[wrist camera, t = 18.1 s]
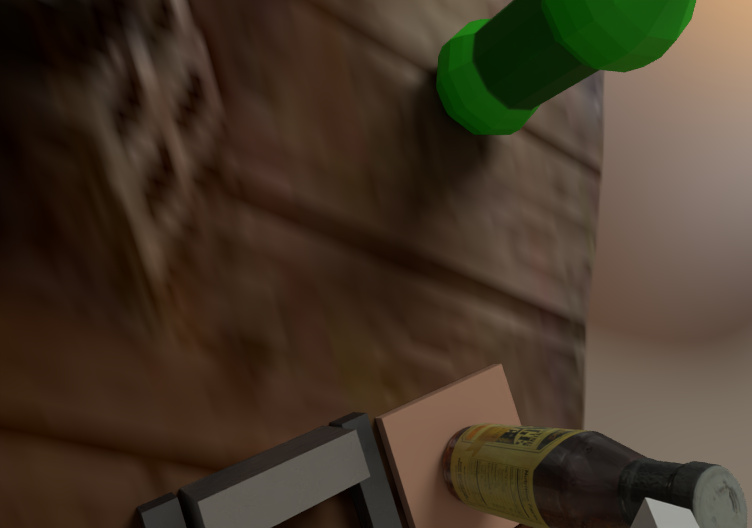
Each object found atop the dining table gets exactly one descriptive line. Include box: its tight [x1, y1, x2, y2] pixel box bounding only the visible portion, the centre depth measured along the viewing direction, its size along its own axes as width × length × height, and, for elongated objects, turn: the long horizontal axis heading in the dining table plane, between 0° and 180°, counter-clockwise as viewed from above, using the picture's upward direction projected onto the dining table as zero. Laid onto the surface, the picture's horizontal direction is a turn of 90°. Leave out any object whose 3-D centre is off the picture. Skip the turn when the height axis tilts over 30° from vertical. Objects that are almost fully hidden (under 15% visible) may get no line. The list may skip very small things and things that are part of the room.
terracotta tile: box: [375, 364, 521, 528], centre depth 45 cm, size 12×12×1 cm
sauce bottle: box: [443, 423, 747, 528], centre depth 36 cm, size 7×6×20 cm
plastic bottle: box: [436, 0, 696, 135], centre depth 42 cm, size 10×10×25 cm
